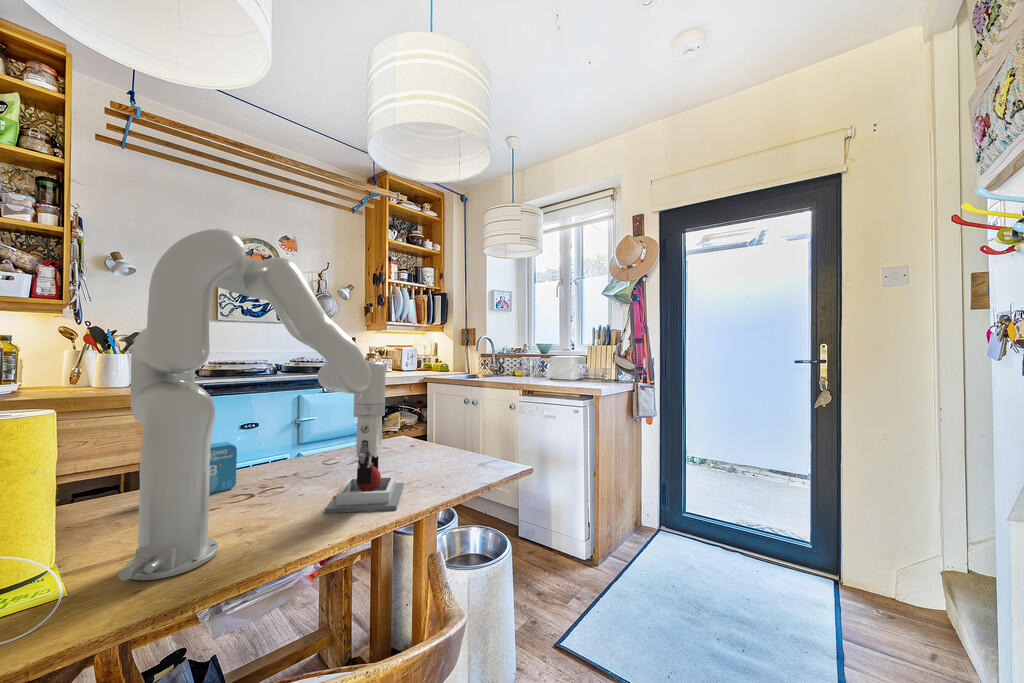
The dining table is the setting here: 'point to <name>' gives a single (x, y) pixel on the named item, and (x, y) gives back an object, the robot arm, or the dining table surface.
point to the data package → (222, 466)
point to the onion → (374, 480)
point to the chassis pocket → (366, 497)
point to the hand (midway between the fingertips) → (368, 477)
